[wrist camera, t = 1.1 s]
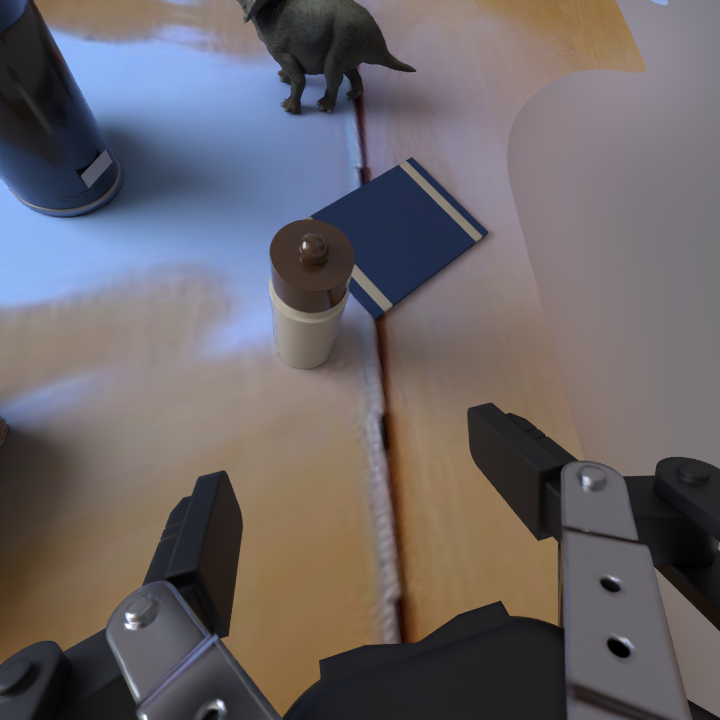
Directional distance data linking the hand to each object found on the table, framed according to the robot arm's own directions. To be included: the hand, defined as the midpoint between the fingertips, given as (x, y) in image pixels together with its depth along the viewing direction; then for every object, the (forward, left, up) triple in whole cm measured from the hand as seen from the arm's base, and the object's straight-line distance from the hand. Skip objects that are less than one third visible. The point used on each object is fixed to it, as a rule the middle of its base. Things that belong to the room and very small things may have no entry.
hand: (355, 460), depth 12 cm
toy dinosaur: (-34, +29, -20) cm, 49 cm away
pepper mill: (-10, +7, -20) cm, 24 cm away
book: (-14, +23, -20) cm, 34 cm away
